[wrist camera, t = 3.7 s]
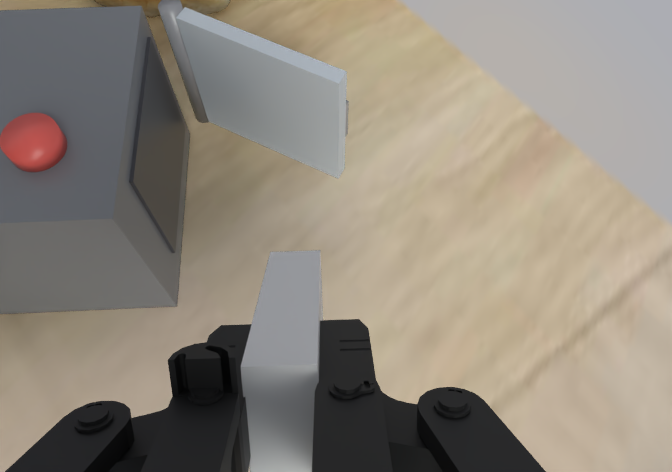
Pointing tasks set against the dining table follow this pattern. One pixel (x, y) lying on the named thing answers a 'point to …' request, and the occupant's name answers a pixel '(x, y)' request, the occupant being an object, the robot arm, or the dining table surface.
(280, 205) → the dining table surface
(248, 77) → the side door
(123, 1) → the pastry
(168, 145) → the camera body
